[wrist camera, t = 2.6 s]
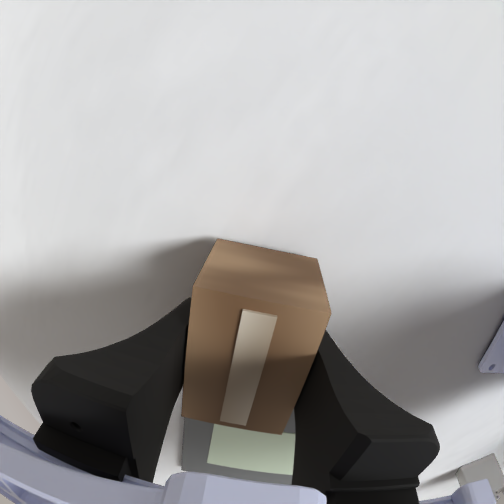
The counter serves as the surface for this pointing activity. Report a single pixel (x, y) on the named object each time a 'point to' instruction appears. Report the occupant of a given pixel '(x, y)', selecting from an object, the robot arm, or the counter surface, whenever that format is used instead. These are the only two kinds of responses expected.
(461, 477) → the lighter
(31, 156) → the counter surface
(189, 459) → the mat
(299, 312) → the cardboard box
